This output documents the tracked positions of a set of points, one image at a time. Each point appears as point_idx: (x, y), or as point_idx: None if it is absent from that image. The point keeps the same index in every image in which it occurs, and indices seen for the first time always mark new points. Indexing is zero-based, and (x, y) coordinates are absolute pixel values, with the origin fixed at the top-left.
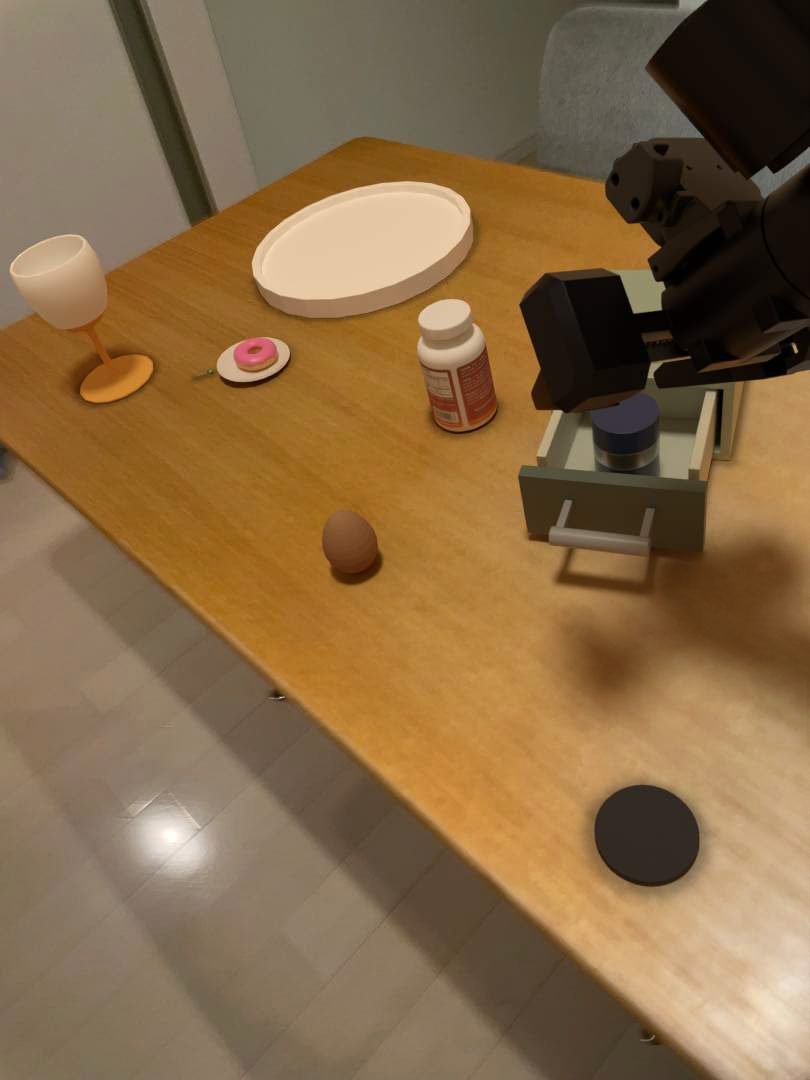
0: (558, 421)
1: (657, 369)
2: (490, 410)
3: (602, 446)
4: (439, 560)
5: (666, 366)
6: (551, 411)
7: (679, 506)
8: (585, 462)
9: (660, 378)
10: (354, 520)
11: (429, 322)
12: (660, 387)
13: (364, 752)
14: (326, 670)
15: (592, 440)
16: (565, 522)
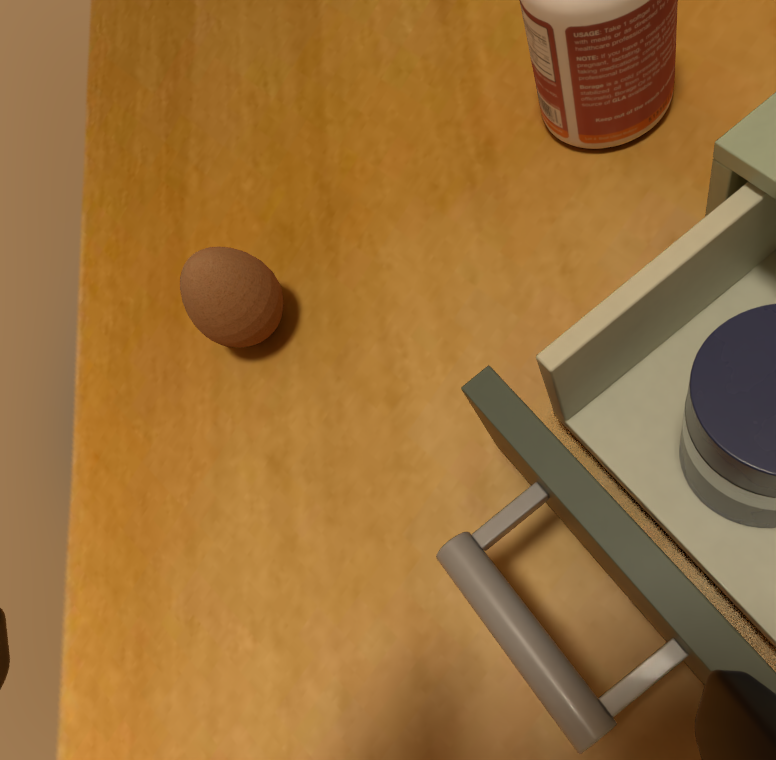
0: (650, 289)
1: (728, 693)
2: (634, 126)
3: (688, 423)
4: (356, 392)
5: (755, 757)
6: (705, 216)
7: None
8: None
9: (714, 733)
10: (217, 283)
11: None
12: (699, 745)
13: (67, 643)
14: (118, 476)
15: None
16: (494, 538)
